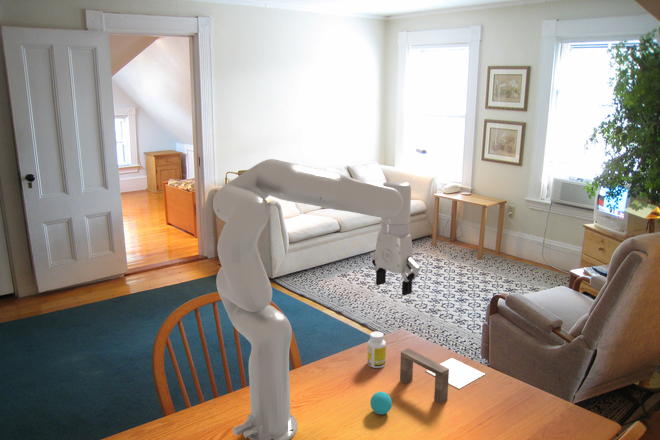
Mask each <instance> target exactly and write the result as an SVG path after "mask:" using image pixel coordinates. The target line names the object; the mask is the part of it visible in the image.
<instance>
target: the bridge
mask: <svg viewBox="0 0 660 440" xmlns="http://www.w3.org/2000/svg"><path fill="white" fill-rule="evenodd" d="M414 364H416V365H418V366H419V367H422V368H423V369H426V371H427V370H429V371H431V372H433V373H435V376H434V396H433V397H434V398H433V401H434V402H436V404H439V405H442V404H443V403H445V402H446V401H448V394H449V384H448V379H449V369H448V368H446V367H444V366H442V365H440V364H441V363H438V362H437V361H434V360H432V359H430V358H428V357H427V356H425V355H422V354H420V353H418V352H416V351H415V350H413V349H410V348H406V349H403V350H402V351H400V364H399V365H400V369H399V371H400V372H399V373H400V374H399V381H400V382H401V383H403V384H404V385H406V384H408V383H410V382H412V381H413V374H414Z"/></svg>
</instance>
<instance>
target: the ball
mask: <svg viewBox="0 0 660 440" xmlns="http://www.w3.org/2000/svg"><path fill="white" fill-rule="evenodd" d="M392 406H393V402H392V398H391V396H390V395H389V394H388V393H387V392H385V391H377V392H375V393H374V394H372V396H371V398H370V407H371V409H372V411H373V413H376V414H378V415H386V414H387V413H389V412H390V411H391V409H392Z"/></svg>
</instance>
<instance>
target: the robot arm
mask: <svg viewBox="0 0 660 440" xmlns="http://www.w3.org/2000/svg"><path fill="white" fill-rule="evenodd" d="M268 197H273V198H275V199H279V200H281V201H287V202H293V203H298V204H303V205H310V206H311V205H312V206H315V207H320V208H324V209H325V208H326V209H331V210H334V211H341V212H349V213H354V214H360V215H365V216H371V217H377V218H381V219H380V221H379V225H380V230H379V231H378V234H377V237H376V242H375V243H376V244H375V250H374V251H372V252H370V257H371V258H370V259H371V260H372V261H371V262H372V265H373V266H374V271H375V285H376V286H381V285H383V284H386V283H387V280H386V279H387V277H386V276H387V275H386V274H387V271H388V272H390V273H394V274H396V275H397V274H398V275H400V274H401V277H402V278H403V281H402V282H401V284H402V285H401V295H402V296H403V297H404V296H405V297H406V296H408V295H410V294H412V292H413V291H412V290H413V280H415V278H417V277H418V276H419V275H418V274H419V273H420V271H421V267H420V266H419V265H418V264H417V263H416V262H415V260H414V258H413V257H414V256H413V255H414V254H413V252H414V250H413V241H412V236H411V234H410V231H411V230H410V229H411V227H410V226H411V206H412V205H411V202H412V201H411V200H412V187H411V185H410V183H409V182H406V181H401V180H391V181H385V182H366V181H363V180H360V179H359V180H358V179H355V178H352V177H349V176H346V175H343V174H341V173H337V172H333V171H328V170H324V169H319V168H316V167H311V166H306V165H302V164H298V163H294V162H293V163H292V162H289V161H283V160H279V159H275V158H269V159H265V160H262V161H261V162H258V163H256V164H255V165H254V166H252V167H250V168H248V169H247V170H246V171H244V172H242V173H240V175H238V176H236V177H235V178H234V179H232V180H231V181H229V182H227V183H226V184H224V185H222V187H220V188H219V190H217V192H216V193H215V195H214V197H213V200H212V201H213V202H212V207H213V211H214V213H215V215H216V216H217V217H218V218H219V219H220V221H223V222H224V225H223V227H222V230H221V233H220V235H219V237H218V242H217V247H216V248H217V257H218V259H219V263H220V266H221V267H220V268H219V270H218V272H217V274H216V278H215V279H216V281H215V283H216V289H217V292H218V295H219V297H220V300H221V302H222V304H223V307H224V309H225V311H226V313H227V316H228V319H229V320H230V322H231V324H232V326H233V328H234V329H235V330H236V331H238V333H239V334H241V335H242V336H243V337H244V338H245V339H246V340H247V341H248V342H249V343H250V345H251V346H250V347H251V350H250V354H249V358H248V382H249V398H250V400H249V401H250V413H249V414H247V415H246V420H245V421H244V422H243V423H242V424H239V425H237V426H234V427H233V428H232V432H233V435H234V436H235V437H237V436H239V435H241V434H242V436H243V437H244V439H248V440H291V439H292V438H293V437H294V436H295V435H296V432H297V430H298V421H297V419H296V418H295V416H294V415H292V413H291V392H290V391H291V389H290V386H291V385H290V349H291V348H290V347H291V342H292V335H293V334H292V333H293V332H292V331H293V330H292V326H291V325H292V324H291V323H290V321H289V319H288V317H287V316H285V314H284V313H283V312H281V311H280V310H278V309H277V308H276V307H274V306H272V305H271V302H272V299H273V288H272V283H271V281H270V279H269V276H268V274H267V271H266V268H265V266H264V263H263V261H262V258H261V255H260V252H259V251H260V250H259V247H258V242H259V238H260V236H261V233H262V232H263V230H264V229H265V227H266V225H267V223H268V221H269V218H270V214H271V213H270V206H269V203H268V201H267V200H266V199H267V198H268Z"/></svg>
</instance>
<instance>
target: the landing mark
mask: <svg viewBox="0 0 660 440" xmlns="http://www.w3.org/2000/svg"><path fill="white" fill-rule="evenodd" d="M439 364H440V365H442V366H444V367H446V368H448V369H449V379H448V385H450V386H452V387H454V388H456V389H458V390H461V389H462V388H464V387H466V386H467V385H469V384H471V383H472V382H474V381H476V380H477V379H480V378H481V377H484V376H485V375H486V373H484V372H482V371H480V370H478V369H477V368H474V367H472V366H470V365H468V364H465V363H464V362H462V361H459V360H458V359H455V358H454V357H451V358H449V359H446V360H445V361H443V362H441V363H439ZM425 372H426V373H427V374H430V375H431V376H433V377H435V373H433V372H431V371H429V370H427V369H426V370H425Z"/></svg>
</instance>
